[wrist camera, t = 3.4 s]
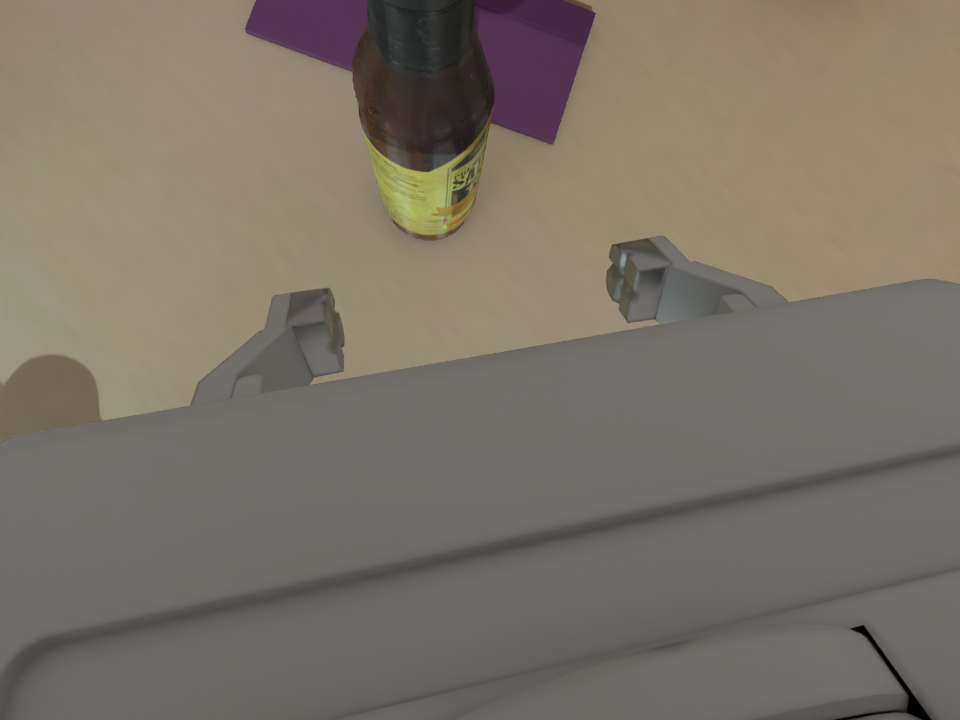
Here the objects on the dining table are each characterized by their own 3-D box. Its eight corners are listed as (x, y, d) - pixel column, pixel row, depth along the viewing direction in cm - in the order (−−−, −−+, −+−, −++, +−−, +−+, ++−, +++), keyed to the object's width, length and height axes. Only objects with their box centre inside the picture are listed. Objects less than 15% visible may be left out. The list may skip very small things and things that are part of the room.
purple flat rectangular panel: (246, 33, 33) (242, 26, 32) (296, -98, 33) (293, -108, 33) (552, 145, 34) (554, 139, 33) (593, 17, 35) (596, 10, 34)
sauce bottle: (466, 251, 33) (510, 59, 13) (375, 235, 33) (282, 11, 13) (481, 159, 34) (543, -158, 14) (391, 142, 33) (323, -213, 13)
